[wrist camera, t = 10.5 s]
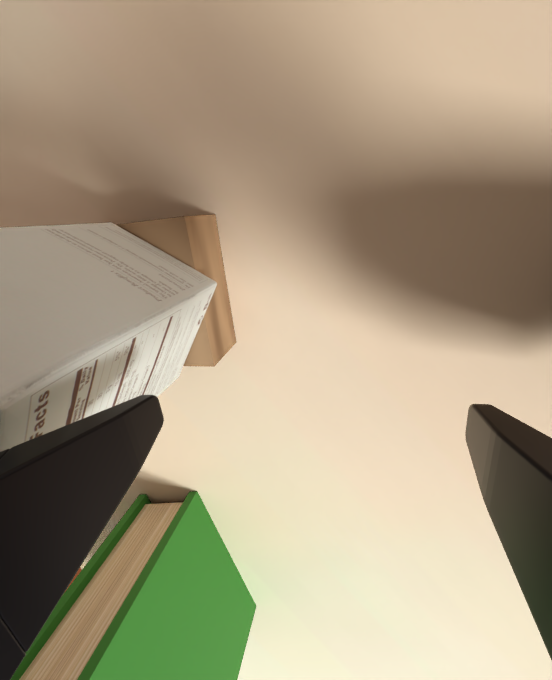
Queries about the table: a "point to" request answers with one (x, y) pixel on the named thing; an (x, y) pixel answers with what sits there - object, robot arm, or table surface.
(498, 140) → the table surface
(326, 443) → the table surface
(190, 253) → the stand block
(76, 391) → the supplement box
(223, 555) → the hardback book
